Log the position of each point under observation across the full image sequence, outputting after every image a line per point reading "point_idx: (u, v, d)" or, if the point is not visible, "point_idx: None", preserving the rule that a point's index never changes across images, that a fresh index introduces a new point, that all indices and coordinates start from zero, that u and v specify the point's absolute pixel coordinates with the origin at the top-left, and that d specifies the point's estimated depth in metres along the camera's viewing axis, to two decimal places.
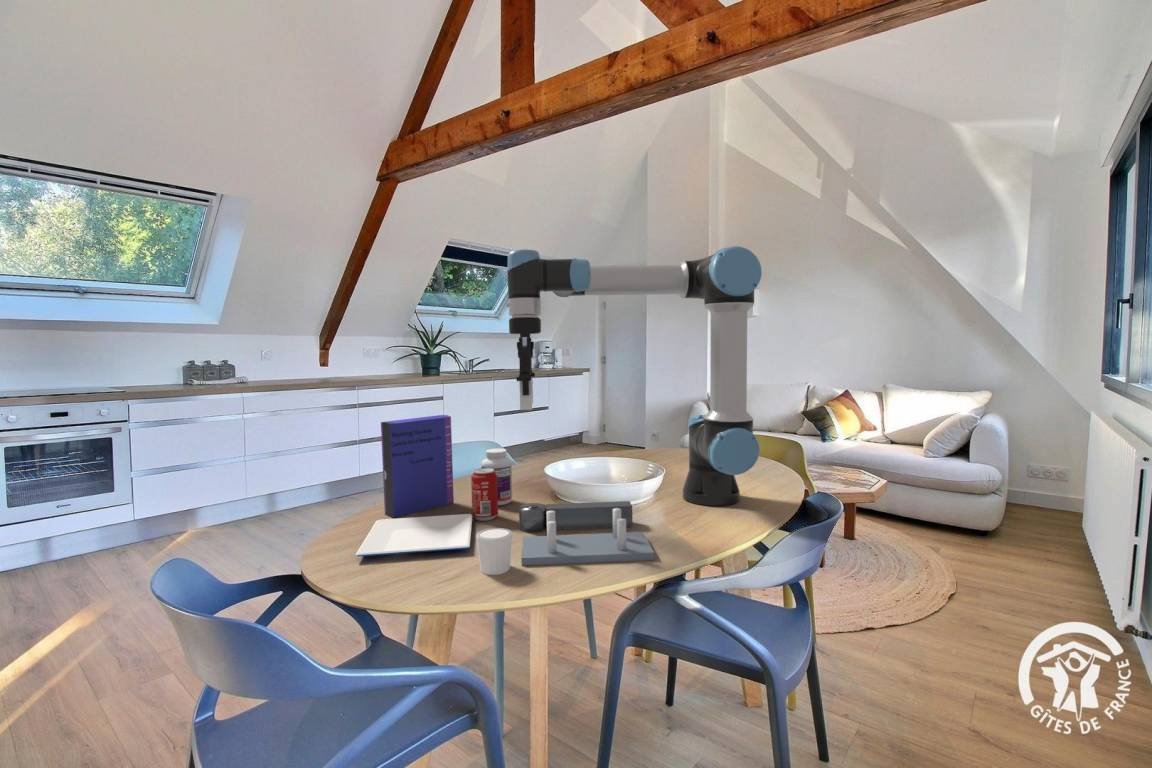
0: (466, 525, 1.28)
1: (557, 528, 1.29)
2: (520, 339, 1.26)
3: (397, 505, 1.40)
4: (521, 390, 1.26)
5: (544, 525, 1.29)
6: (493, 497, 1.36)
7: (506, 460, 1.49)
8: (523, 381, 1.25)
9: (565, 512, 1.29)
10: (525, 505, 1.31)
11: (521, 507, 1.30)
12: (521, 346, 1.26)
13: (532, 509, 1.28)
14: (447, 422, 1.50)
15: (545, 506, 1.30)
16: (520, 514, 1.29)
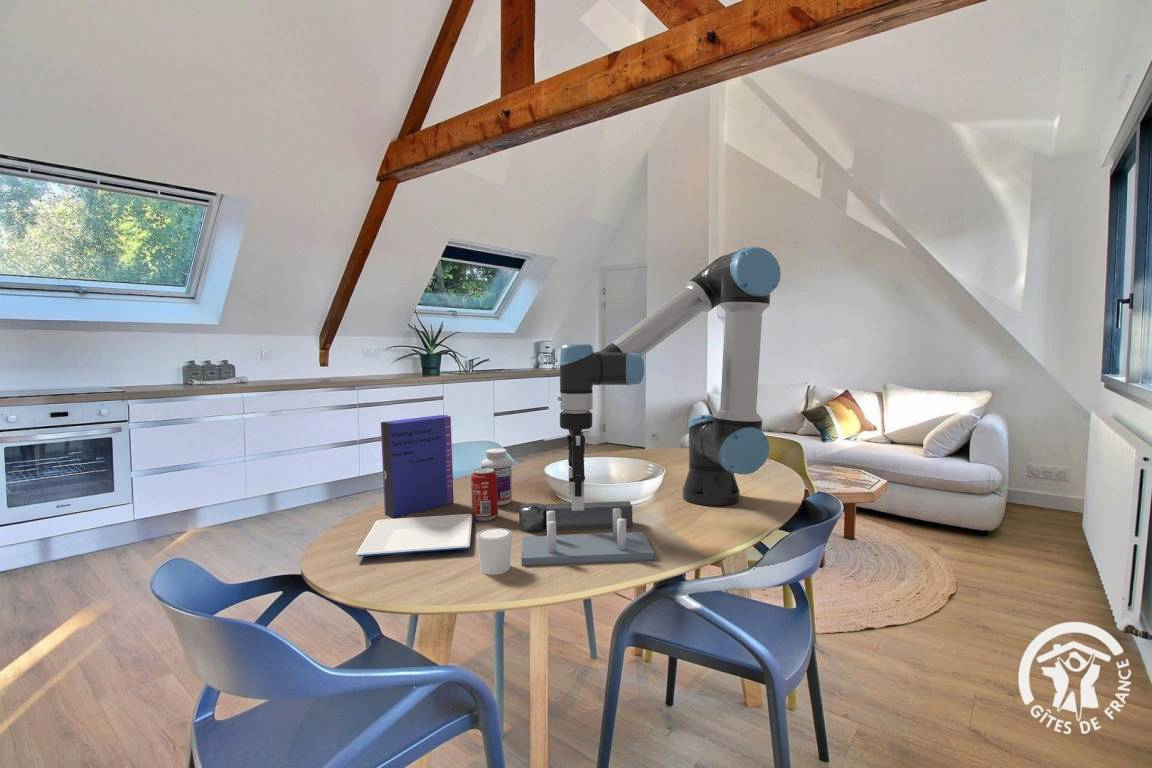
0: (466, 525, 1.28)
1: (557, 528, 1.29)
2: (573, 438, 1.23)
3: (397, 505, 1.40)
4: (573, 490, 1.23)
5: (544, 525, 1.29)
6: (493, 497, 1.36)
7: (506, 460, 1.49)
8: (576, 482, 1.22)
9: (565, 512, 1.29)
10: (525, 505, 1.31)
11: (521, 507, 1.30)
12: (574, 446, 1.23)
13: (532, 509, 1.28)
14: (447, 422, 1.50)
15: (545, 506, 1.30)
16: (520, 514, 1.29)
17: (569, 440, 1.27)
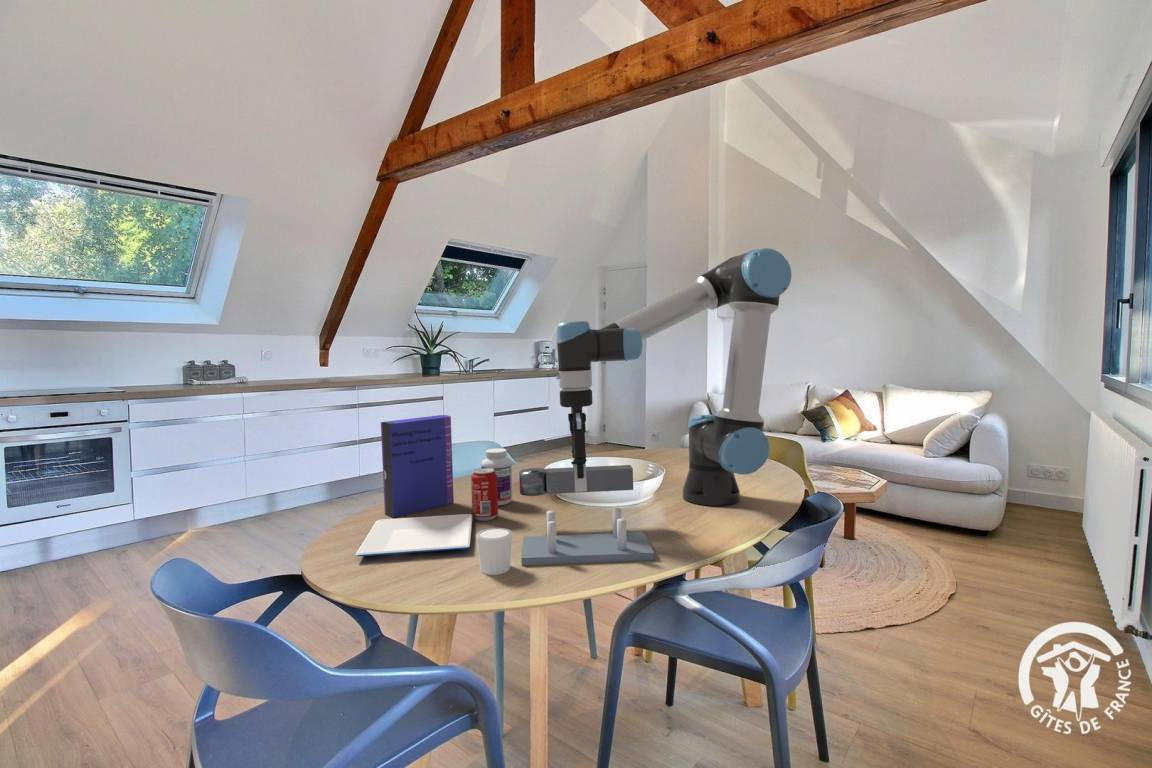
0: (466, 525, 1.28)
1: (558, 492, 1.28)
2: (574, 424, 1.23)
3: (397, 505, 1.40)
4: (576, 473, 1.28)
5: (544, 489, 1.28)
6: (493, 497, 1.36)
7: (506, 460, 1.49)
8: (578, 464, 1.26)
9: (565, 475, 1.28)
10: (525, 470, 1.31)
11: (521, 471, 1.29)
12: (575, 430, 1.23)
13: (533, 473, 1.27)
14: (447, 422, 1.50)
15: (545, 470, 1.30)
16: (520, 478, 1.28)
17: (570, 420, 1.27)
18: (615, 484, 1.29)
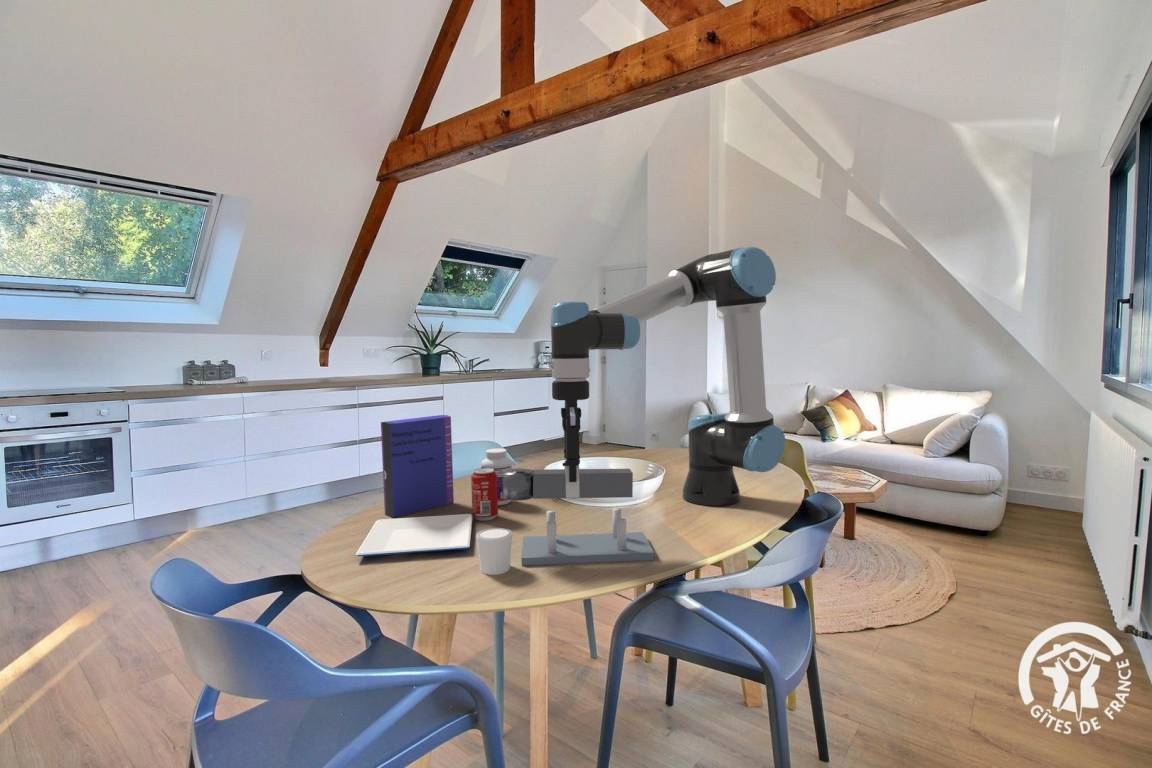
0: (466, 525, 1.28)
1: (546, 496, 1.12)
2: (568, 419, 1.06)
3: (397, 505, 1.40)
4: (567, 476, 1.11)
5: (531, 493, 1.12)
6: (493, 497, 1.36)
7: (506, 460, 1.49)
8: (570, 466, 1.10)
9: (555, 478, 1.12)
10: (510, 470, 1.14)
11: (505, 472, 1.13)
12: (569, 426, 1.07)
13: (518, 474, 1.11)
14: (447, 422, 1.50)
15: (532, 471, 1.13)
16: (503, 479, 1.12)
17: (563, 415, 1.11)
18: (612, 489, 1.13)
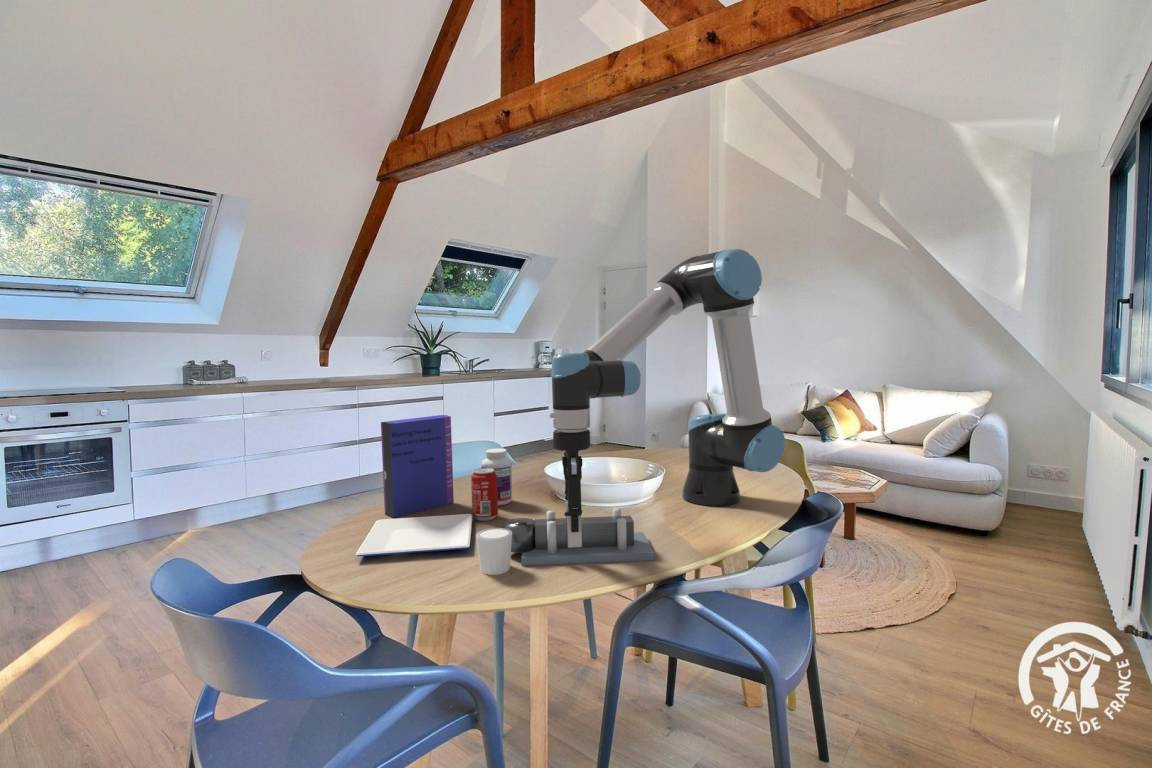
0: (466, 525, 1.28)
1: None
2: (569, 467, 1.07)
3: (397, 505, 1.40)
4: (569, 525, 1.10)
5: (533, 544, 1.13)
6: (493, 497, 1.36)
7: (506, 460, 1.49)
8: (572, 516, 1.08)
9: (557, 529, 1.13)
10: (512, 521, 1.15)
11: (507, 523, 1.14)
12: (570, 475, 1.07)
13: (520, 526, 1.12)
14: (447, 422, 1.50)
15: (534, 522, 1.14)
16: None
17: (564, 464, 1.12)
18: (614, 539, 1.13)
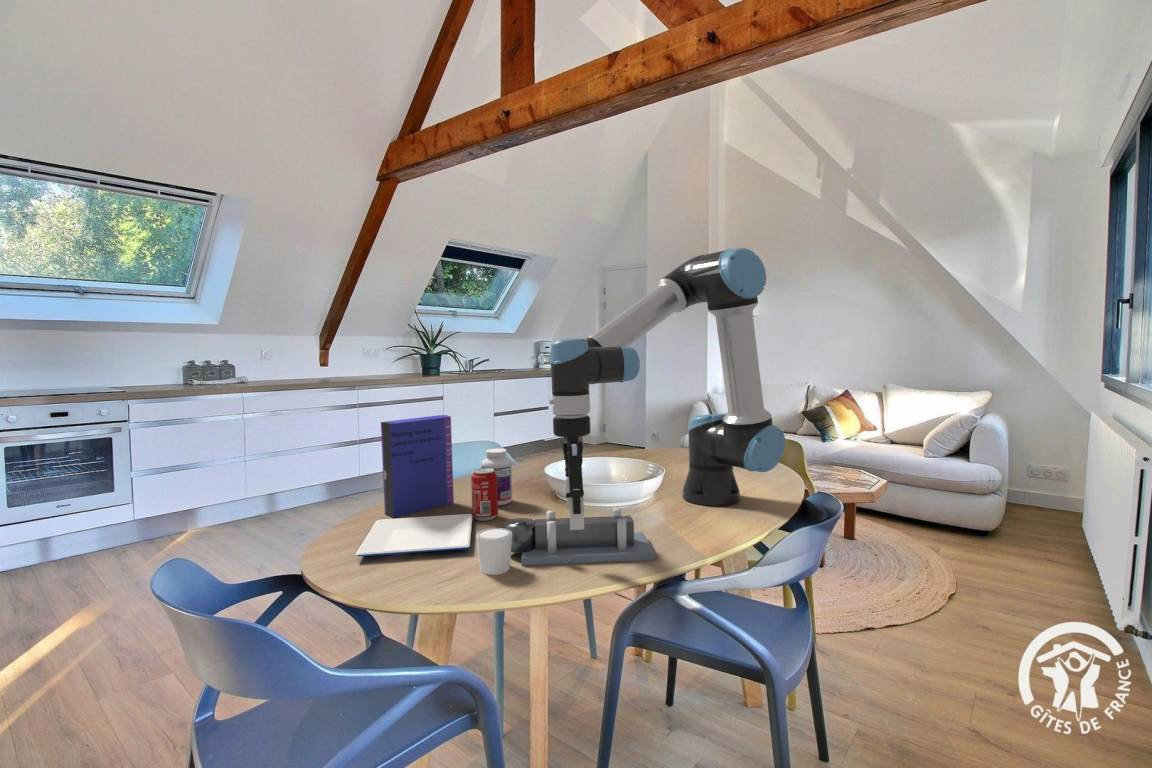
0: (466, 525, 1.28)
1: None
2: (569, 448, 1.07)
3: (397, 505, 1.40)
4: (571, 507, 1.07)
5: (533, 544, 1.13)
6: (493, 497, 1.36)
7: (506, 460, 1.49)
8: (574, 498, 1.06)
9: (557, 529, 1.13)
10: (512, 521, 1.15)
11: (507, 523, 1.14)
12: (570, 456, 1.07)
13: (520, 526, 1.12)
14: (447, 422, 1.50)
15: (534, 522, 1.14)
16: None
17: (564, 449, 1.11)
18: (614, 539, 1.13)
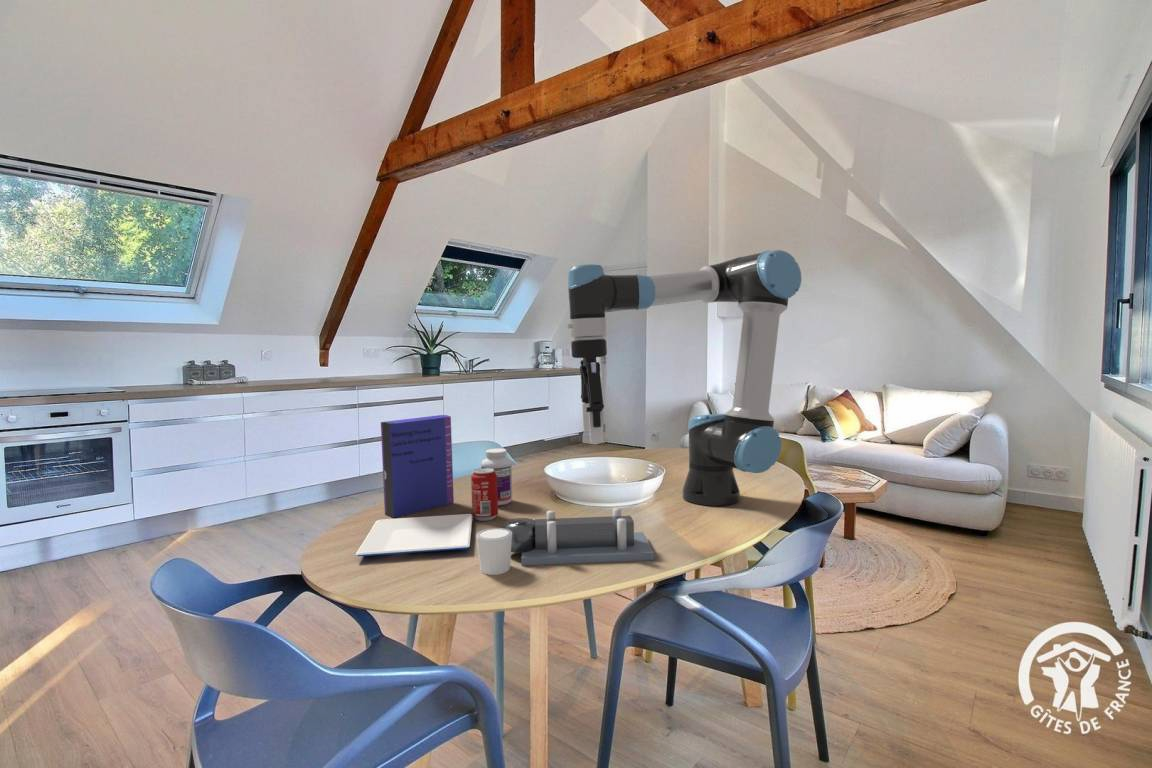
0: (466, 525, 1.28)
1: None
2: (589, 365, 1.13)
3: (397, 505, 1.40)
4: (591, 421, 1.14)
5: (533, 544, 1.13)
6: (493, 497, 1.36)
7: (506, 460, 1.49)
8: (594, 412, 1.13)
9: (557, 529, 1.13)
10: (512, 521, 1.15)
11: (507, 523, 1.14)
12: (590, 373, 1.13)
13: (520, 526, 1.12)
14: (447, 422, 1.50)
15: (534, 522, 1.14)
16: None
17: (583, 369, 1.18)
18: (614, 539, 1.13)
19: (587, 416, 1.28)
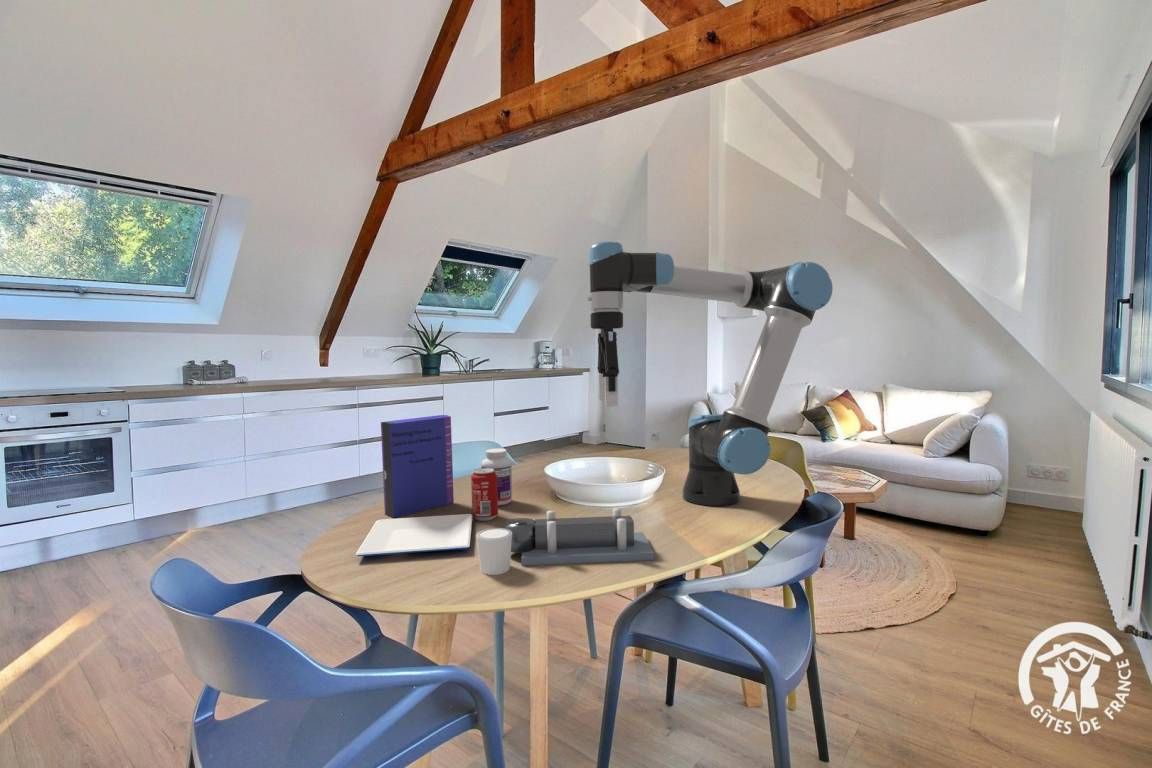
0: (466, 525, 1.28)
1: None
2: (606, 334, 1.23)
3: (397, 505, 1.40)
4: (607, 386, 1.23)
5: (533, 544, 1.13)
6: (493, 497, 1.36)
7: (506, 460, 1.49)
8: (610, 377, 1.22)
9: (557, 529, 1.13)
10: (512, 521, 1.15)
11: (507, 523, 1.14)
12: (607, 341, 1.22)
13: (520, 526, 1.12)
14: (447, 422, 1.50)
15: (534, 522, 1.14)
16: None
17: (601, 339, 1.27)
18: (614, 539, 1.13)
19: (603, 385, 1.37)
